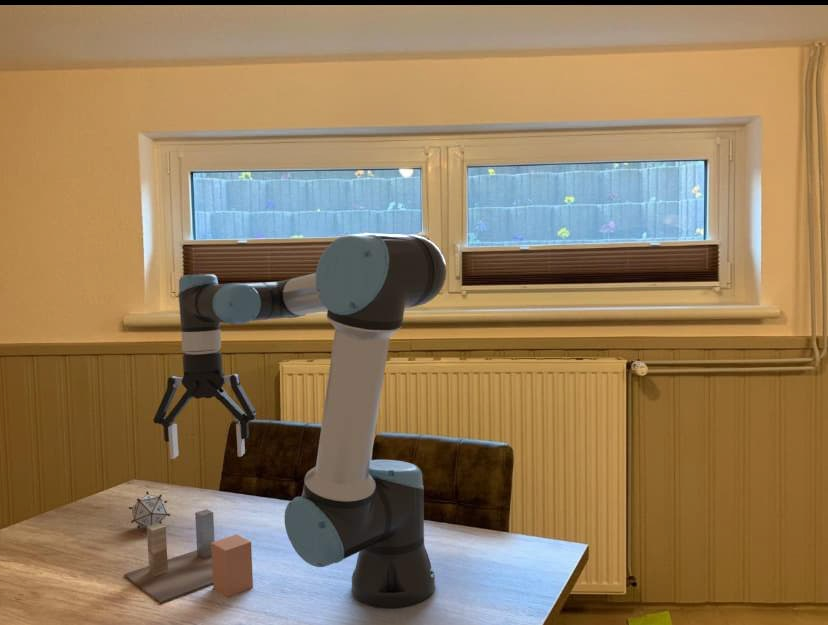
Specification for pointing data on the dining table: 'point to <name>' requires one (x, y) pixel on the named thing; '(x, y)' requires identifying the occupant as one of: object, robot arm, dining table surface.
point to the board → (175, 577)
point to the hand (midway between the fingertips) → (207, 456)
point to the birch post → (157, 549)
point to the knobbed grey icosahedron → (149, 511)
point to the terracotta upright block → (232, 565)
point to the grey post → (204, 533)
